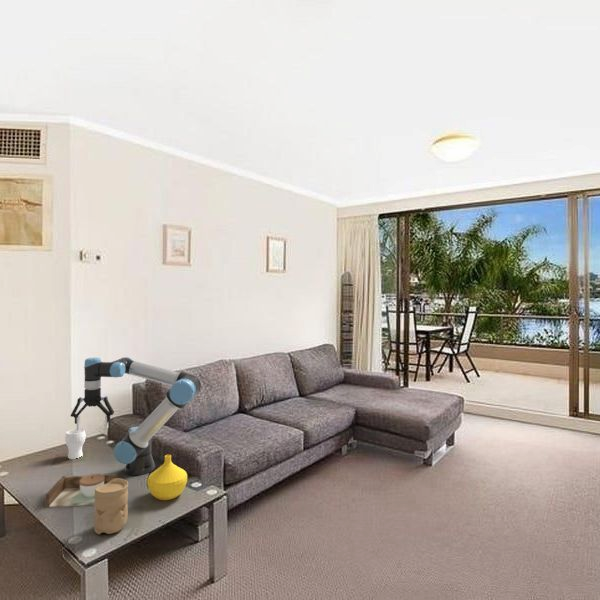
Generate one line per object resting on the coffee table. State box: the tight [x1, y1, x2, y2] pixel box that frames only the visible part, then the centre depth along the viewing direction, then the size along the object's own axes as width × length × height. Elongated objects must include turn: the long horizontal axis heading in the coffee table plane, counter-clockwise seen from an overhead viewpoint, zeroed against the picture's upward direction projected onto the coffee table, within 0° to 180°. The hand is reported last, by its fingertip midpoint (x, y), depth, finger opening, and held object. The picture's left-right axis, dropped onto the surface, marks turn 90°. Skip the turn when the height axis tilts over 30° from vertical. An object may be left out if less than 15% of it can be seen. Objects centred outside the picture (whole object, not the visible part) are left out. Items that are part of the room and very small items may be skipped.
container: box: [93, 477, 129, 536], centre depth 173 cm, size 13×13×18 cm
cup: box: [64, 428, 87, 460], centre depth 244 cm, size 11×11×15 cm
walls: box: [45, 473, 119, 507], centre depth 199 cm, size 26×18×6 cm
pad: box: [70, 491, 95, 504], centre depth 198 cm, size 14×14×1 cm
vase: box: [147, 454, 188, 501], centre depth 201 cm, size 18×18×19 cm
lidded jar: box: [79, 473, 105, 498], centre depth 198 cm, size 11×11×9 cm
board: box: [45, 488, 95, 508], centre depth 199 cm, size 26×18×1 cm
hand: (92, 429), depth 216 cm, fingers open, 13 cm apart
